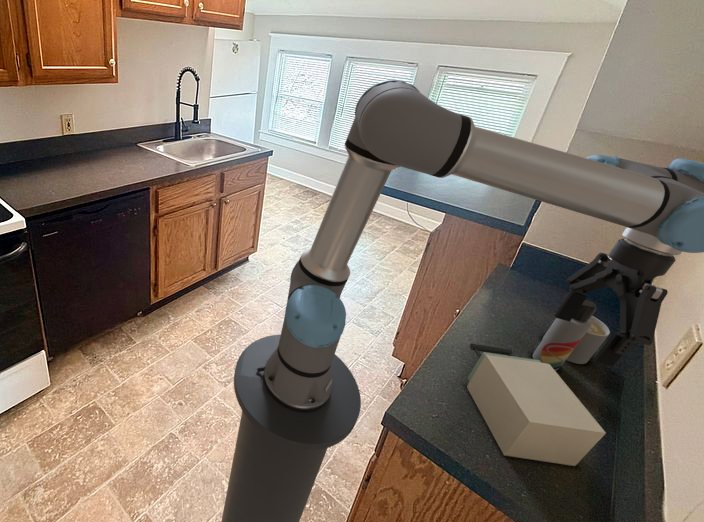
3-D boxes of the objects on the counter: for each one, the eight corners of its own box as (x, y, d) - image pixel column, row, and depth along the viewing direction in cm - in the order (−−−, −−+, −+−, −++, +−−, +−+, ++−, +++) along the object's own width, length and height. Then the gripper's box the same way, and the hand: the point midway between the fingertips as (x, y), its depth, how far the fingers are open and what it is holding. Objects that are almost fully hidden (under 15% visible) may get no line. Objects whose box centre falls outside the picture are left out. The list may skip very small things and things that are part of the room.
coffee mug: (587, 370, 96) (610, 342, 91) (540, 348, 102) (559, 320, 97) (588, 343, 105) (609, 316, 100) (545, 323, 111) (563, 297, 106)
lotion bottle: (555, 375, 94) (601, 314, 84) (529, 360, 97) (570, 300, 88) (560, 364, 97) (605, 304, 88) (534, 349, 101) (575, 291, 91)
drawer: (455, 357, 94) (469, 331, 90) (505, 364, 94) (522, 338, 90) (501, 439, 76) (521, 411, 72) (564, 448, 76) (588, 421, 72)
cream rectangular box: (466, 386, 88) (485, 354, 83) (526, 395, 87) (549, 363, 82) (503, 455, 74) (529, 421, 69) (575, 466, 74) (606, 433, 69)
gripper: (741, 290, 55) (649, 393, 64) (622, 226, 78) (566, 309, 86) (682, 275, 56) (600, 378, 65) (582, 216, 79) (530, 299, 87)
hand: (580, 339), depth 76 cm, fingers open, 13 cm apart
